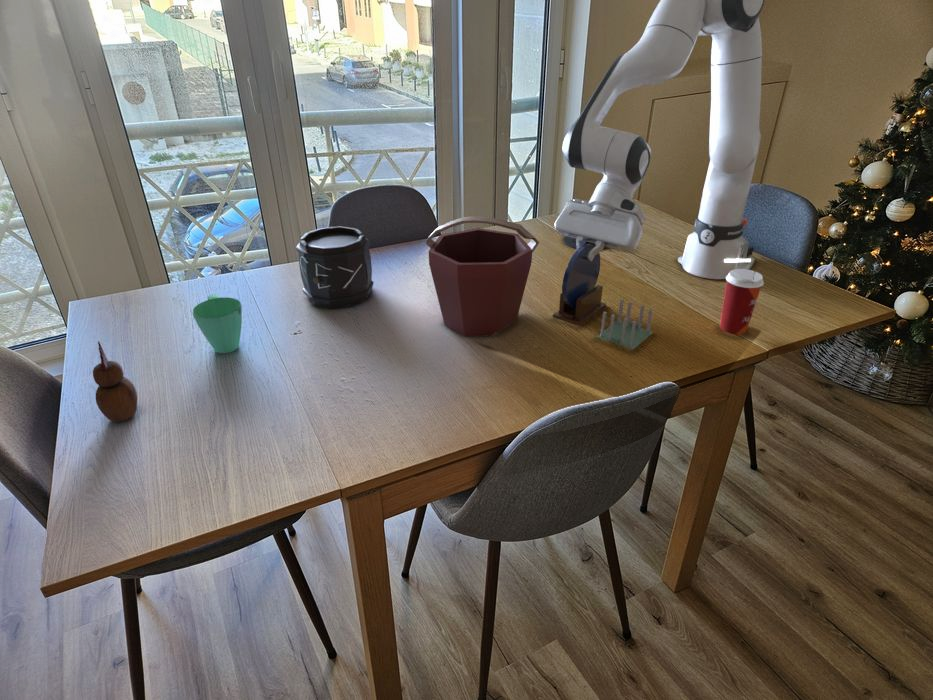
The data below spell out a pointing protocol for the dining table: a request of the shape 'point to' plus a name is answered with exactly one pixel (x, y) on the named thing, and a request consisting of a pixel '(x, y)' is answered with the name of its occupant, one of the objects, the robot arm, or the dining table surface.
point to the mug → (220, 322)
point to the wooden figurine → (114, 390)
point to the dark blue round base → (572, 242)
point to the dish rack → (626, 328)
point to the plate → (580, 275)
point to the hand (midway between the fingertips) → (582, 258)
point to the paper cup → (740, 300)
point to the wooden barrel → (335, 266)
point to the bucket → (480, 274)
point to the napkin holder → (581, 307)
